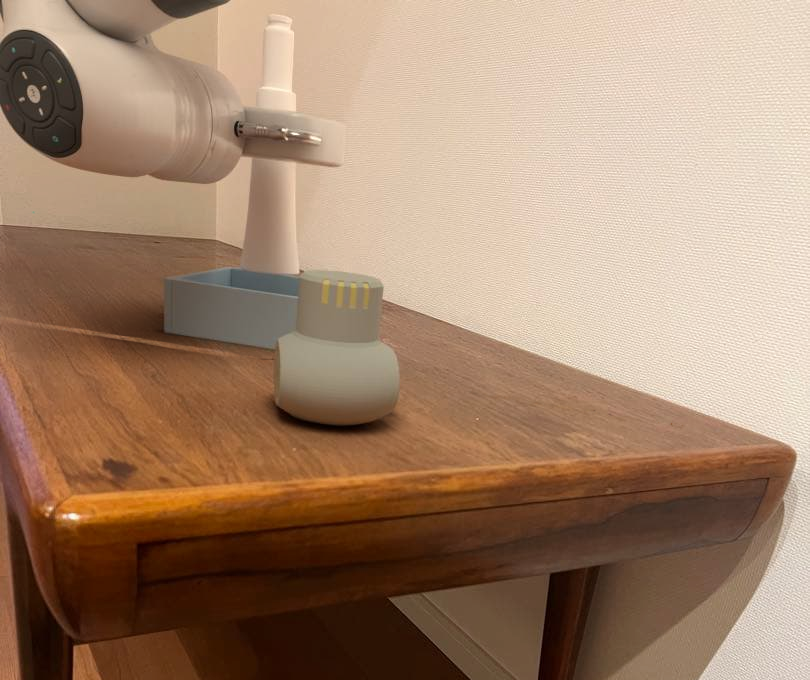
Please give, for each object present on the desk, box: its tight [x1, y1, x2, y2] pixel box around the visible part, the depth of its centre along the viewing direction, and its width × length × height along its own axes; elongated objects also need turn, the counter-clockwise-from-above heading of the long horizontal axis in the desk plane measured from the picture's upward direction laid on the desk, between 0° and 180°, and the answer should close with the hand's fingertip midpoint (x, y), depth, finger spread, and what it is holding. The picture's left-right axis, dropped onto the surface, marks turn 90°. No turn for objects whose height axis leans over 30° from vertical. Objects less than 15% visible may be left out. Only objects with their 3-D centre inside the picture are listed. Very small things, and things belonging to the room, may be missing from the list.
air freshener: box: [273, 269, 401, 427], centre depth 56 cm, size 11×8×10 cm
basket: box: [163, 266, 299, 350], centre depth 81 cm, size 16×16×6 cm
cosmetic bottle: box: [239, 13, 301, 276], centre depth 75 cm, size 6×6×22 cm
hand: (280, 141), depth 75 cm, fingers closed on cosmetic bottle, 4 cm apart
